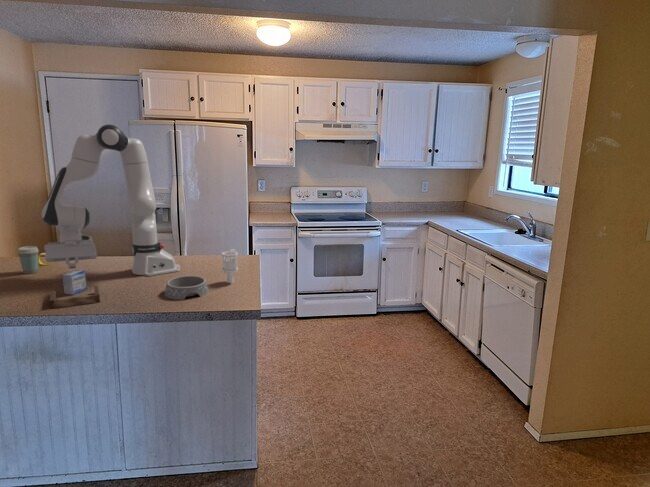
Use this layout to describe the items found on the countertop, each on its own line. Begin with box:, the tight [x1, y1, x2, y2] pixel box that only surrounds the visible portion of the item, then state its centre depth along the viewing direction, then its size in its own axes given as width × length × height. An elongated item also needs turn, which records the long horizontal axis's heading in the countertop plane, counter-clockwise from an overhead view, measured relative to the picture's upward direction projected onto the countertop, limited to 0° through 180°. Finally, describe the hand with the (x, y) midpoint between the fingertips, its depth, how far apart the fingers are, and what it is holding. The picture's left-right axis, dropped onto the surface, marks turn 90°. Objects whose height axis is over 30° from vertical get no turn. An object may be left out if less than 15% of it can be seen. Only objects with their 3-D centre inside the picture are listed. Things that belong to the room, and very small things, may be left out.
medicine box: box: [62, 269, 88, 296], centre depth 189 cm, size 8×4×9 cm, turn 168°
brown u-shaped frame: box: [49, 285, 101, 310], centre depth 180 cm, size 17×12×3 cm
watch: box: [38, 252, 51, 266], centre depth 226 cm, size 6×3×6 cm, turn 87°
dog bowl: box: [164, 275, 210, 301], centre depth 192 cm, size 17×18×5 cm
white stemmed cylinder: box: [221, 248, 239, 284], centre depth 205 cm, size 7×7×15 cm
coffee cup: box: [17, 245, 40, 275], centre depth 213 cm, size 9×9×12 cm
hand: (72, 267), depth 197 cm, fingers closed
